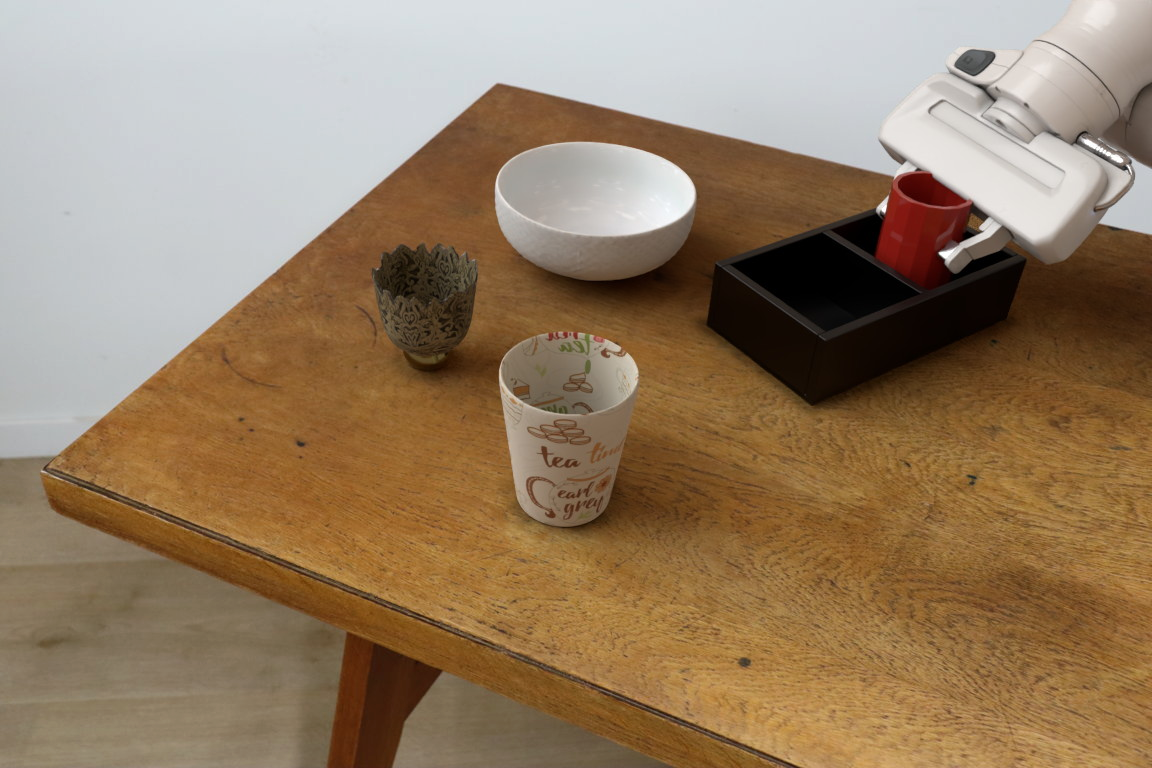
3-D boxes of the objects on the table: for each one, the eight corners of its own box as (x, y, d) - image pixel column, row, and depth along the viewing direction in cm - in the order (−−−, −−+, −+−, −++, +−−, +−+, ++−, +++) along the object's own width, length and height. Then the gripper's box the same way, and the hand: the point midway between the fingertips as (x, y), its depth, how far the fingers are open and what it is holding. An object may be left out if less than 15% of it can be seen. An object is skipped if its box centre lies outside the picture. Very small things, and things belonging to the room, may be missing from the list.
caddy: (897, 253, 98) (912, 194, 95) (1007, 319, 91) (1028, 258, 87) (706, 324, 88) (714, 261, 84) (811, 405, 80) (826, 340, 77)
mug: (481, 526, 69) (480, 400, 63) (535, 405, 79) (538, 286, 73) (612, 553, 68) (624, 427, 62) (650, 427, 77) (663, 307, 71)
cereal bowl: (684, 321, 88) (694, 244, 84) (478, 301, 89) (477, 223, 85) (691, 218, 102) (700, 147, 97) (512, 201, 103) (512, 130, 98)
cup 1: (457, 399, 79) (455, 305, 74) (362, 378, 80) (353, 285, 76) (492, 341, 85) (492, 251, 80) (402, 323, 86) (396, 233, 81)
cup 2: (902, 270, 95) (930, 164, 89) (958, 305, 91) (992, 196, 85) (850, 290, 92) (876, 182, 86) (906, 327, 88) (937, 216, 82)
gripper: (1160, 192, 80) (1017, 329, 83) (972, 85, 95) (855, 204, 97) (1138, 143, 76) (988, 290, 78) (944, 39, 91) (822, 165, 93)
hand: (913, 241), depth 88 cm, fingers closed on cup 2, 6 cm apart
